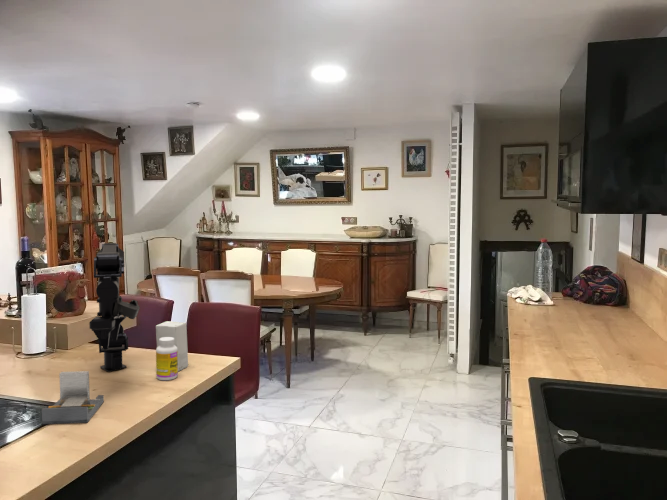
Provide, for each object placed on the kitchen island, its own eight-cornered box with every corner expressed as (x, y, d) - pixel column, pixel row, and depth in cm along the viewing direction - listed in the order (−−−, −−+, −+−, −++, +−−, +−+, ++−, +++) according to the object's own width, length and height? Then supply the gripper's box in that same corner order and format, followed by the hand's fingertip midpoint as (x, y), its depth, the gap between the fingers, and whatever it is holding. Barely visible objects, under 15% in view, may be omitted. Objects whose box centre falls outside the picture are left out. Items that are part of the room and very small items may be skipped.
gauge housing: (62, 403, 149) (62, 389, 148) (103, 401, 150) (103, 388, 150) (42, 424, 135) (41, 409, 134) (87, 422, 136) (86, 407, 136)
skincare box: (188, 366, 181) (188, 322, 180) (177, 372, 175) (176, 326, 174) (168, 363, 184) (167, 320, 183) (156, 369, 178) (155, 324, 176)
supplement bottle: (171, 381, 167) (170, 342, 165) (152, 380, 168) (151, 340, 167) (181, 374, 173) (181, 336, 172) (163, 373, 175) (162, 335, 173)
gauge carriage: (53, 407, 143) (52, 372, 142) (98, 406, 144) (97, 370, 143) (47, 414, 139) (46, 377, 138) (93, 412, 140) (92, 376, 139)
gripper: (128, 300, 151) (130, 353, 153) (143, 288, 170) (144, 336, 171) (88, 300, 150) (89, 354, 151) (107, 289, 168) (108, 336, 170)
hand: (110, 344), depth 161 cm, fingers open, 9 cm apart
